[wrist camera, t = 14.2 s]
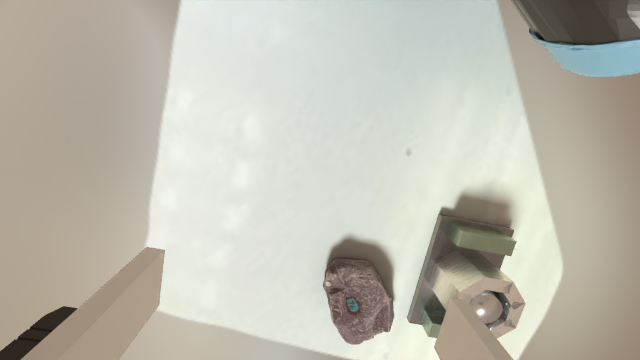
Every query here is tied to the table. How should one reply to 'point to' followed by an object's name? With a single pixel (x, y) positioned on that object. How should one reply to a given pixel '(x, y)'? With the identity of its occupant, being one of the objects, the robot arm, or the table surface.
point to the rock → (357, 300)
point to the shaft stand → (445, 241)
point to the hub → (477, 286)
